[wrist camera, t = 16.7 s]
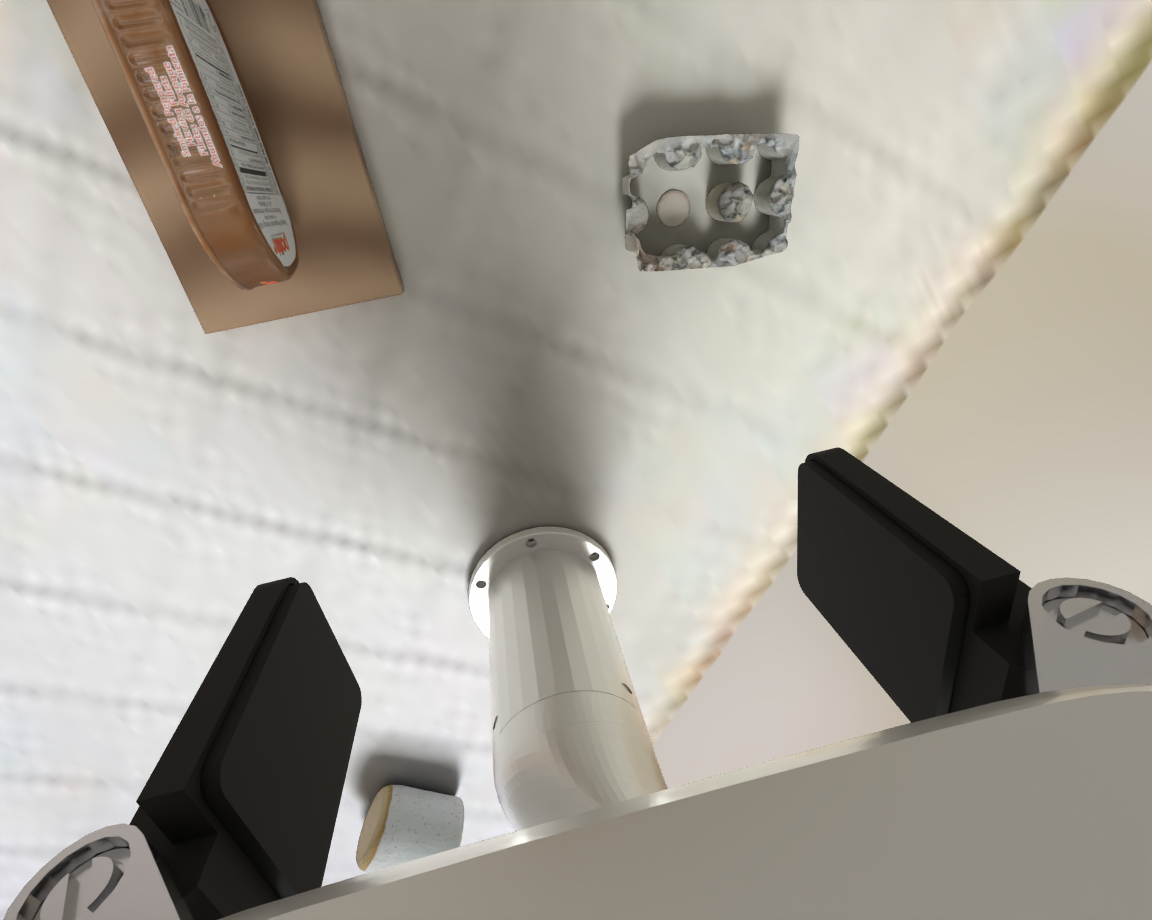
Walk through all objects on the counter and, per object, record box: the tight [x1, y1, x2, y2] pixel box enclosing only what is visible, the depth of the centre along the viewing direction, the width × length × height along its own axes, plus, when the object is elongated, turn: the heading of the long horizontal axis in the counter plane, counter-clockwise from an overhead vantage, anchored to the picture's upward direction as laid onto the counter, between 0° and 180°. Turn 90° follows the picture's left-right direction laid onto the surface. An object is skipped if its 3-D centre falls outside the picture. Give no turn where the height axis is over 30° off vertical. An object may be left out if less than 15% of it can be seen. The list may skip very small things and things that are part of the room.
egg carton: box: [622, 133, 799, 271], centre depth 35 cm, size 11×8×4 cm
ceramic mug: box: [356, 785, 464, 873], centre depth 54 cm, size 11×8×8 cm
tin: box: [91, 0, 299, 291], centre depth 26 cm, size 15×3×8 cm, turn 9°
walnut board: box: [47, 0, 404, 334], centre depth 31 cm, size 20×12×2 cm, turn 10°
